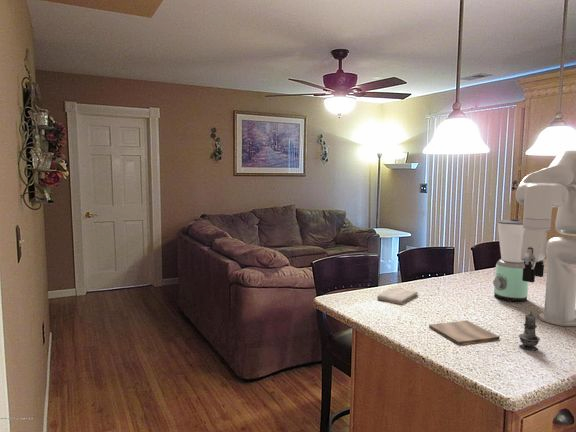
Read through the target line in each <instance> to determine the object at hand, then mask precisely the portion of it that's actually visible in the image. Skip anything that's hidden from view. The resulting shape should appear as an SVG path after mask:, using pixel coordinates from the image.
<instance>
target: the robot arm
mask: <svg viewBox="0 0 576 432" xmlns="http://www.w3.org/2000/svg"><path fill="white" fill-rule="evenodd" d="M515 199H516V201H517V203H518V204H519V205H522V206H523V214H522V215H523V217H522V221H523V229H525V230H524V234H523V240H522V249H521V260H522V261H524V265H523V277H522V280H523V281H526V282H528V283H535V278H536V277H538V278H542V277H544V273H545V272H544V271H545V270H544V269H545V258H546V263H547V264H546V268H547V269H546V282H545V296H544V297H545V298H544V311H543V312H541V313H539V315H538V317H539V319H540V320H541V321H543V322H545V323H548V324H552V325H554V326H555V325H556V326H560V327H575V326H576V271H575V269H574V268H573V267H572V266H571V265H575V266H576V150H565V151H562V152H559V153H558V154H557V155H556V156H555V157H554V158H553V160H552V162H550V164H549V166H548V167H545V168H542V169H540V170H536V171H534V172H531V173H529V174H527V175H526V176H524V177H523V178H522V180H521V181H520V183H519V184H518V185H517V188H516V190H515ZM553 208H557V212H556V218H555V223H554V226H555V231H556V232H557V233H558V234H561V235H565V236H566V235H567V236H575V237H565V236H554V237H552V238H549V239H548V231H551V230H552V228H551V227H552V215H553Z"/></svg>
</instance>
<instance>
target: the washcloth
mask: <svg viewBox="0 0 576 432" xmlns="http://www.w3.org/2000/svg"><path fill="white" fill-rule="evenodd" d="M418 294H419V292H418V291H417V290H410V289H405V288H402V287H396V286H395V287H393V288H390V287H389V288H388V289H386V290H384V291H382V292H380V293H378V295H377V297H376V298H377V300H379V301H383V302H388V303H392V304H397V305H401V306H402V305H404V304H406V303H407V302H409V301H411V300H412V299H414V298H417V297H418V296H419V295H418Z"/></svg>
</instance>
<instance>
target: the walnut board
mask: <svg viewBox="0 0 576 432" xmlns="http://www.w3.org/2000/svg"><path fill="white" fill-rule="evenodd" d="M428 328H429V329H431V330H433V331H434V332H437V333H438V334H440V335H441V336H443V337H444V338H446V339H448V340H449V341H452V342H453V343H454V344H456V345H458V346H461V345H468V344H474V343H475V344H476V343H485V342H491V341H498V340H500V336H499V335H497V334H495V333H493V332H491V331H489V330H488V329H486V328H483V327H481V326H479V325H477V324H475V323H473V322H471V321H469V320H459V321H458V320H457V321H449V322H441V323H433V324H429V325H428Z"/></svg>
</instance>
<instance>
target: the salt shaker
mask: <svg viewBox="0 0 576 432" xmlns="http://www.w3.org/2000/svg"><path fill="white" fill-rule="evenodd" d="M524 317H525V318H524V319H525V320H524V323H523V326H524V330H523V333H520V334H519V335H518V337H519V341H520V342H521V344H520V345H519V348H520V350H522V351H527V352H538V351H539V347H537V345H538V344H539V342H540V340H541V338H540V337H539V336H538V335H537V334H536V328H537V327H538V326H537V325H536V323H537V316H536V315H535V314H533V312H532V311H529V313H528V314H527V313H526V314H525V316H524Z"/></svg>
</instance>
